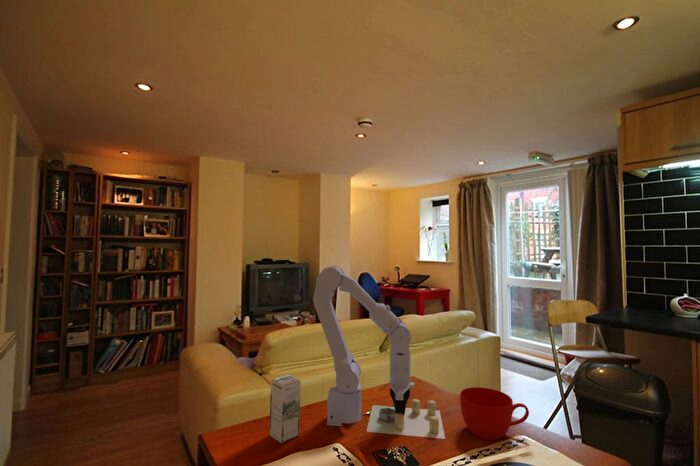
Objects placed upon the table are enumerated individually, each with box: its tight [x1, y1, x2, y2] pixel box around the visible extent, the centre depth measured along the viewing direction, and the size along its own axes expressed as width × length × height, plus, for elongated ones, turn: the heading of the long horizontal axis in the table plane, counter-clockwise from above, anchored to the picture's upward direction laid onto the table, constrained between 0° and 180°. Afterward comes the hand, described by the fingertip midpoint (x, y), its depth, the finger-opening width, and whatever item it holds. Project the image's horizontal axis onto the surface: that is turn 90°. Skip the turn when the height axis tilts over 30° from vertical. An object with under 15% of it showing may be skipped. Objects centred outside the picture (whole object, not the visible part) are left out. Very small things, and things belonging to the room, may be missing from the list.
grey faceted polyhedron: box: [379, 408, 396, 423], centre depth 97 cm, size 5×4×2 cm
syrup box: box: [268, 374, 302, 444], centre depth 90 cm, size 6×6×14 cm
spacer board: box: [366, 398, 446, 440], centre depth 96 cm, size 20×16×4 cm
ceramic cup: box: [459, 386, 530, 441], centre depth 90 cm, size 13×17×10 cm
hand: (400, 416), depth 97 cm, fingers closed, pressing on grey faceted polyhedron
